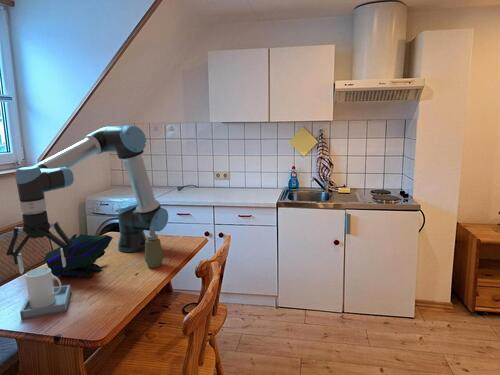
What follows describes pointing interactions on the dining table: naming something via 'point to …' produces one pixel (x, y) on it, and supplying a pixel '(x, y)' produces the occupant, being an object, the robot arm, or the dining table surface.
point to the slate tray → (54, 308)
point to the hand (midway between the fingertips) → (43, 269)
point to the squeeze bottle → (153, 250)
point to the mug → (41, 287)
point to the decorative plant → (79, 255)
